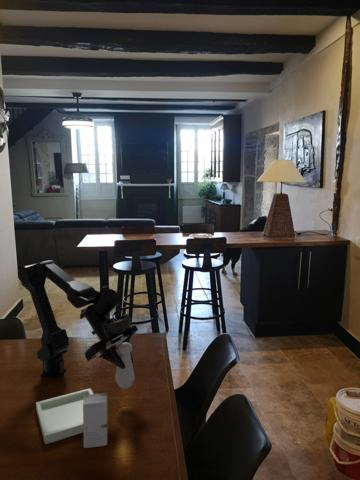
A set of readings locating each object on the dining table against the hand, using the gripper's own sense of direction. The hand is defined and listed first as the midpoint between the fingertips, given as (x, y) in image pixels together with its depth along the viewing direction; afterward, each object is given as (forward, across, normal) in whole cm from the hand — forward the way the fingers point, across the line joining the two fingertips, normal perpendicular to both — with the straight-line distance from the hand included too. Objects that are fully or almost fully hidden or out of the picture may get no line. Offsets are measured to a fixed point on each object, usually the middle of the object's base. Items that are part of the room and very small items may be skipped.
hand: (128, 365), depth 109 cm
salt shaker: (+4, 0, +6) cm, 7 cm away
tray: (+2, -14, +16) cm, 21 cm away
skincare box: (+11, -17, +6) cm, 21 cm away
